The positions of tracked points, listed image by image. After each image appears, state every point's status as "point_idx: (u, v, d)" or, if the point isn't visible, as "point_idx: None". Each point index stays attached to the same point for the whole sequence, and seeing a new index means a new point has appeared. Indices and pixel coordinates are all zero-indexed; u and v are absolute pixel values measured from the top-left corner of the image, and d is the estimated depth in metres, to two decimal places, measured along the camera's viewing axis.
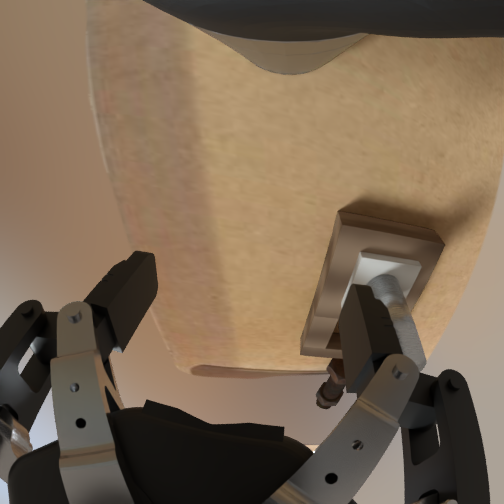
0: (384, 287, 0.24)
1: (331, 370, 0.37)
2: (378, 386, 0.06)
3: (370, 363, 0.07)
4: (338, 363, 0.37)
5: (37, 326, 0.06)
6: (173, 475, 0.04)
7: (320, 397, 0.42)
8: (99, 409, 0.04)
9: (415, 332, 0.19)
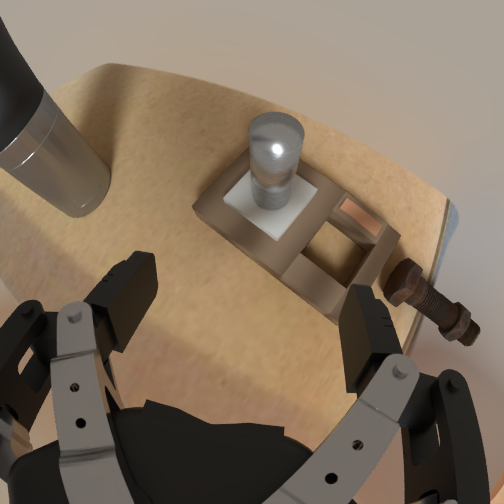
0: None
1: (393, 297, 0.26)
2: (378, 386, 0.06)
3: (370, 363, 0.07)
4: (391, 288, 0.27)
5: (37, 326, 0.06)
6: (174, 475, 0.04)
7: (451, 333, 0.25)
8: (99, 409, 0.04)
9: None
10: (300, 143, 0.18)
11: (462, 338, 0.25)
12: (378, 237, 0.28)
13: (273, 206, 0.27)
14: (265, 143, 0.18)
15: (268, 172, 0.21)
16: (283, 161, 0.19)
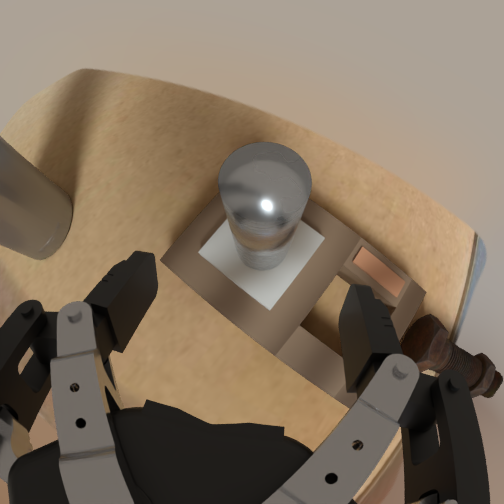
0: None
1: None
2: (378, 386, 0.06)
3: (370, 363, 0.07)
4: (408, 355, 0.20)
5: (37, 326, 0.06)
6: (173, 475, 0.04)
7: (473, 392, 0.18)
8: (99, 409, 0.04)
9: None
10: (305, 201, 0.11)
11: (483, 392, 0.18)
12: (399, 298, 0.21)
13: (264, 267, 0.20)
14: (244, 202, 0.11)
15: (254, 241, 0.14)
16: (276, 230, 0.12)
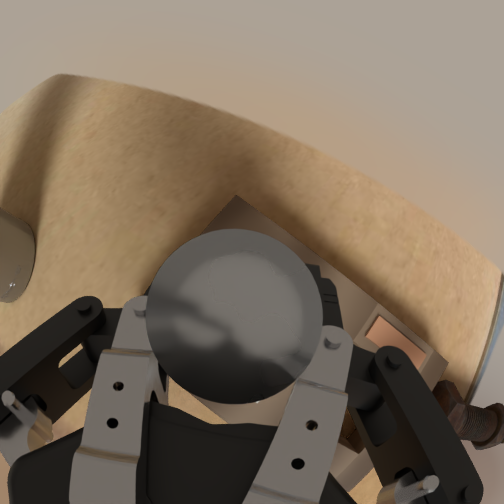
0: None
1: None
2: None
3: None
4: None
5: (98, 323, 0.07)
6: (174, 475, 0.04)
7: (485, 446, 0.12)
8: (137, 416, 0.04)
9: None
10: (306, 363, 0.06)
11: None
12: None
13: None
14: (192, 364, 0.06)
15: None
16: None
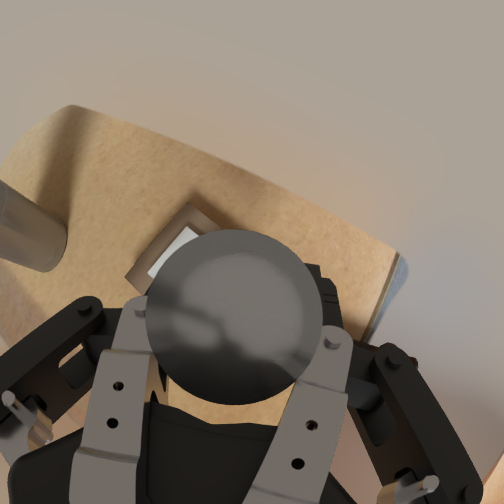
0: None
1: None
2: None
3: None
4: None
5: (97, 324, 0.07)
6: (174, 475, 0.04)
7: None
8: (136, 416, 0.04)
9: None
10: (306, 363, 0.06)
11: None
12: None
13: None
14: (192, 365, 0.06)
15: None
16: None
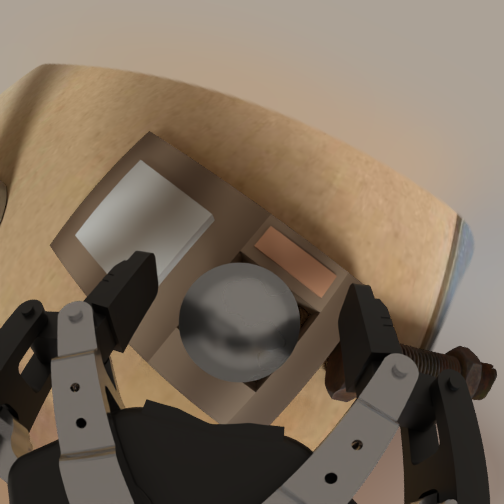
0: None
1: (337, 394, 0.14)
2: (377, 386, 0.06)
3: (369, 363, 0.07)
4: (333, 375, 0.15)
5: (38, 326, 0.06)
6: (174, 475, 0.04)
7: None
8: (99, 409, 0.04)
9: None
10: (288, 354, 0.09)
11: None
12: (326, 299, 0.16)
13: None
14: (211, 355, 0.09)
15: None
16: None
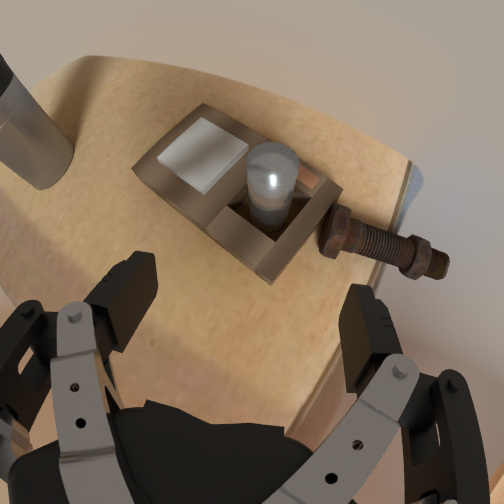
0: None
1: (327, 249, 0.25)
2: (378, 386, 0.06)
3: (370, 363, 0.07)
4: (323, 241, 0.27)
5: (37, 326, 0.06)
6: (173, 475, 0.04)
7: (413, 269, 0.25)
8: (99, 409, 0.04)
9: None
10: (295, 175, 0.20)
11: (430, 272, 0.25)
12: (315, 190, 0.27)
13: (270, 227, 0.28)
14: (261, 175, 0.20)
15: (265, 201, 0.22)
16: (279, 192, 0.20)
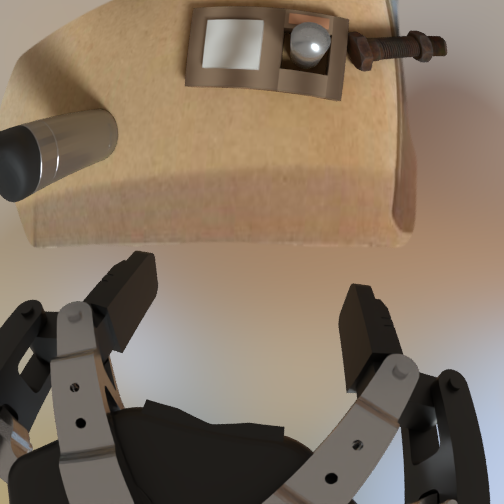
0: (291, 56, 0.28)
1: (363, 67, 0.26)
2: (378, 386, 0.06)
3: (370, 363, 0.07)
4: (356, 61, 0.27)
5: (37, 326, 0.06)
6: (173, 475, 0.04)
7: (423, 57, 0.24)
8: (99, 409, 0.04)
9: None
10: (330, 40, 0.20)
11: (435, 54, 0.23)
12: (331, 29, 0.24)
13: (314, 65, 0.29)
14: (310, 50, 0.21)
15: (314, 59, 0.24)
16: (324, 53, 0.22)
